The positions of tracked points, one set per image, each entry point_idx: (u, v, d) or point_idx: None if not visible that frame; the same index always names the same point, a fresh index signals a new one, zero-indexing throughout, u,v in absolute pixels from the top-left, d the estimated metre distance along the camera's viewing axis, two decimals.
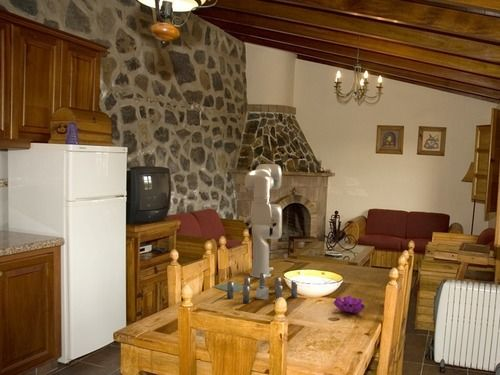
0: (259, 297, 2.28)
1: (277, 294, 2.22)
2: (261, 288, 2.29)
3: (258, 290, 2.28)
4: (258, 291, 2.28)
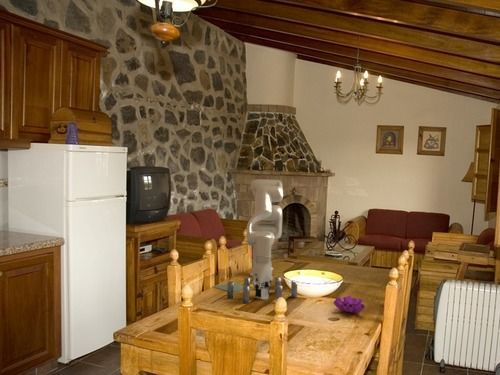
0: (259, 297, 2.28)
1: (277, 294, 2.22)
2: (261, 288, 2.29)
3: None
4: None
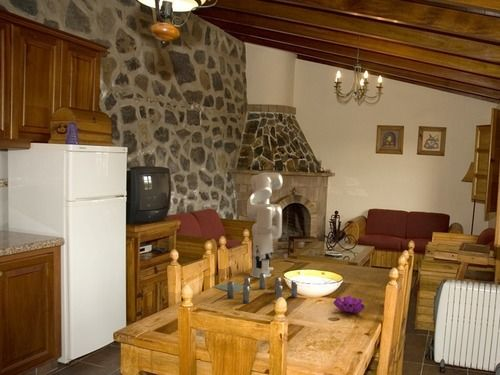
0: None
1: (277, 294, 2.22)
2: (262, 260, 2.28)
3: None
4: None
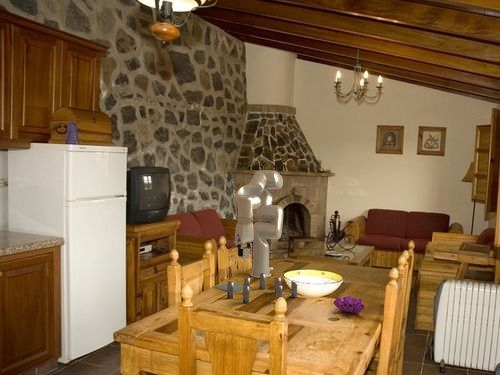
0: None
1: (277, 294, 2.22)
2: (243, 248, 2.38)
3: None
4: None
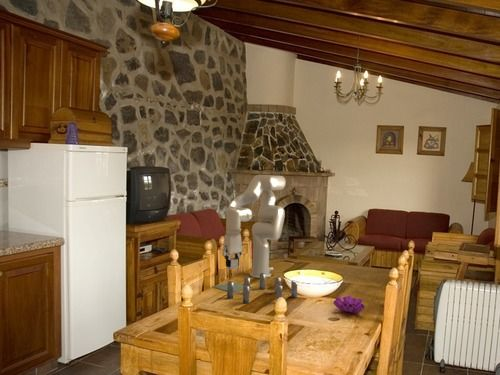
0: (229, 267, 2.44)
1: (277, 294, 2.22)
2: (231, 259, 2.45)
3: None
4: None
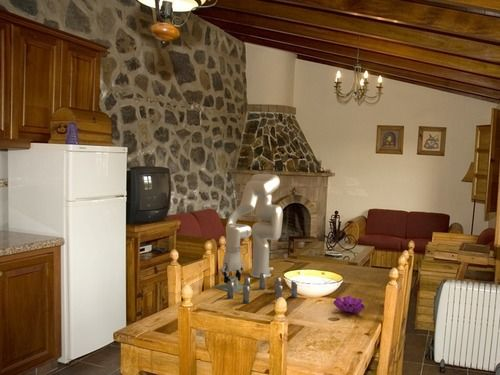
0: None
1: (277, 294, 2.22)
2: (231, 278, 2.46)
3: None
4: None
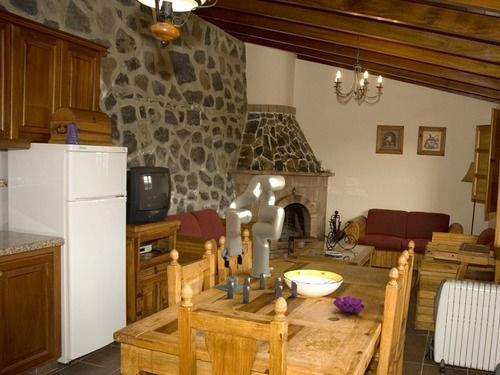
0: None
1: (277, 294, 2.22)
2: (231, 278, 2.46)
3: (228, 279, 2.45)
4: (228, 280, 2.45)
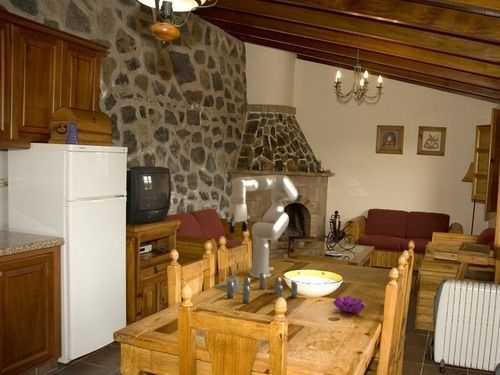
0: None
1: (277, 294, 2.22)
2: (231, 278, 2.46)
3: (228, 279, 2.45)
4: (228, 280, 2.45)
